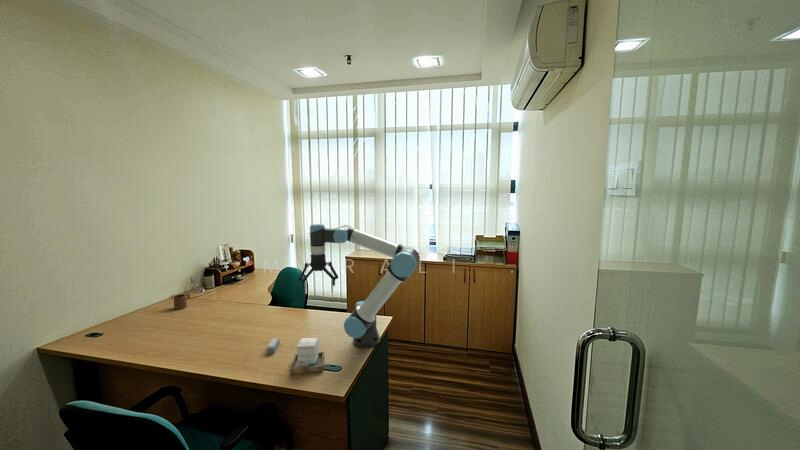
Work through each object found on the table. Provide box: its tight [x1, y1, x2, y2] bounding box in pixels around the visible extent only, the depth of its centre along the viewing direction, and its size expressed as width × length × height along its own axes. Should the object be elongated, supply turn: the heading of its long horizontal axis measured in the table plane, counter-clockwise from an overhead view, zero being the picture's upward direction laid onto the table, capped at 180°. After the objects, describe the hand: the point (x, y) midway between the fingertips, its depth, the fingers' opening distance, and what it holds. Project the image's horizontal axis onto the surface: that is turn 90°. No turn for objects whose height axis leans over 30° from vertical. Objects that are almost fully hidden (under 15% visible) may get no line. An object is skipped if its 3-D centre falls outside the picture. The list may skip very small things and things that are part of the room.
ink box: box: [296, 337, 319, 367], centre depth 154 cm, size 9×8×12 cm
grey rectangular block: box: [266, 337, 281, 355], centre depth 171 cm, size 10×4×4 cm, turn 5°
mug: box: [173, 292, 191, 311], centre depth 233 cm, size 12×8×9 cm, turn 167°
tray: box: [290, 351, 325, 376], centre depth 154 cm, size 15×14×3 cm
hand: (319, 292), depth 167 cm, fingers open, 13 cm apart
